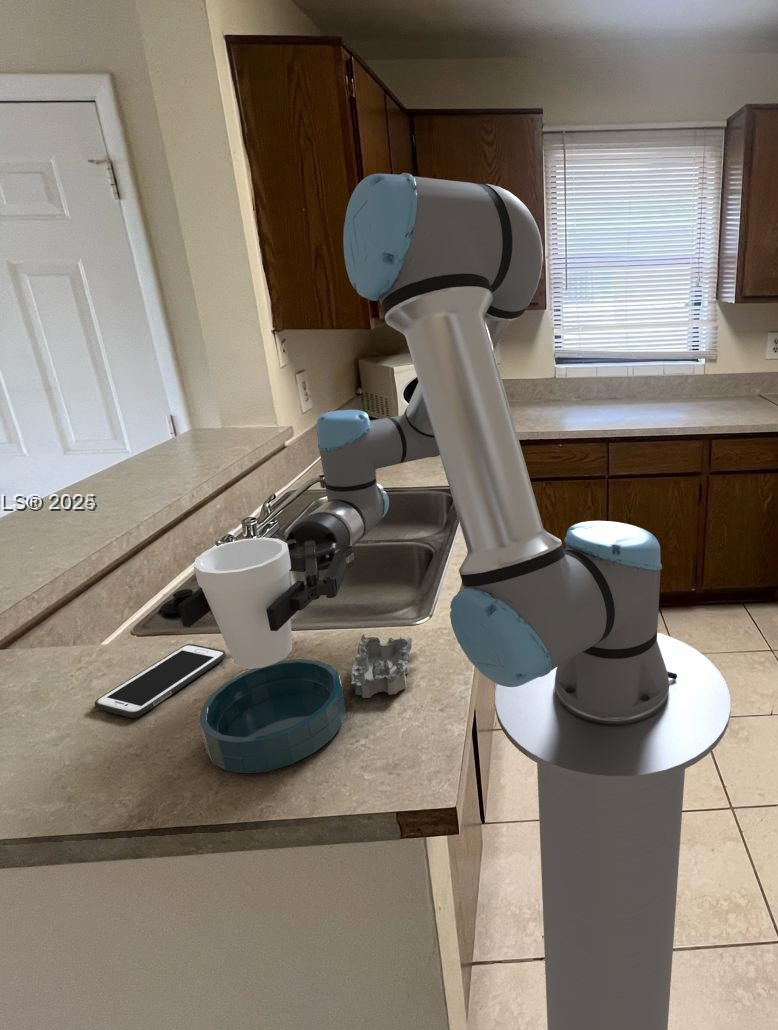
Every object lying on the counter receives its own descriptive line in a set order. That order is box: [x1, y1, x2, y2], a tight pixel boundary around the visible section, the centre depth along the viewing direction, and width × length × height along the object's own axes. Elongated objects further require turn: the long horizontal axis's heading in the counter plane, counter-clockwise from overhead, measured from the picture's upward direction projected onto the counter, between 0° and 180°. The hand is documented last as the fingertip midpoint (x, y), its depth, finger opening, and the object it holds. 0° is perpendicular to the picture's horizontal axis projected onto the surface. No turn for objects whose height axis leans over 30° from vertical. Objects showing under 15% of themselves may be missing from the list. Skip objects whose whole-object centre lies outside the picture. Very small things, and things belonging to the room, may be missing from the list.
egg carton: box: [351, 634, 413, 699], centre depth 86 cm, size 11×8×4 cm
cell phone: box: [94, 643, 227, 719], centre depth 85 cm, size 8×15×1 cm, turn 163°
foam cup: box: [193, 536, 293, 670], centre depth 70 cm, size 10×9×13 cm
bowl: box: [198, 658, 347, 774], centre depth 75 cm, size 16×16×5 cm
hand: (227, 618), depth 66 cm, fingers closed on foam cup, 9 cm apart
